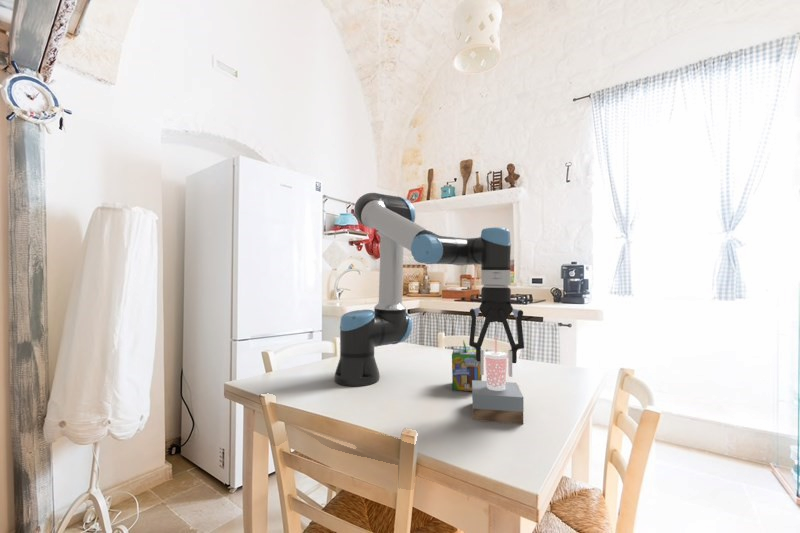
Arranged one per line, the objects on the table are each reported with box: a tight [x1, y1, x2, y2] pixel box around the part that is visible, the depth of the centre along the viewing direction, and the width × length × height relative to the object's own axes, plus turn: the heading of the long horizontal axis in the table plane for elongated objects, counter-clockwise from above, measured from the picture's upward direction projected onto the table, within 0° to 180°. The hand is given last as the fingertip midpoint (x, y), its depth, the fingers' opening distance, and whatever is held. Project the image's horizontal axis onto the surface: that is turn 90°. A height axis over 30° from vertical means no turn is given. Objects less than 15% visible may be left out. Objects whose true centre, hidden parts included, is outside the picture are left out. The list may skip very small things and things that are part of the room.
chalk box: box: [451, 340, 483, 392], centre depth 115 cm, size 9×9×15 cm
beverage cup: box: [484, 334, 508, 391], centre depth 94 cm, size 6×6×14 cm
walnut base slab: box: [472, 407, 524, 425], centre depth 94 cm, size 12×12×4 cm
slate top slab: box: [471, 380, 525, 413], centre depth 94 cm, size 12×12×4 cm
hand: (496, 374), depth 94 cm, fingers open, 6 cm apart
